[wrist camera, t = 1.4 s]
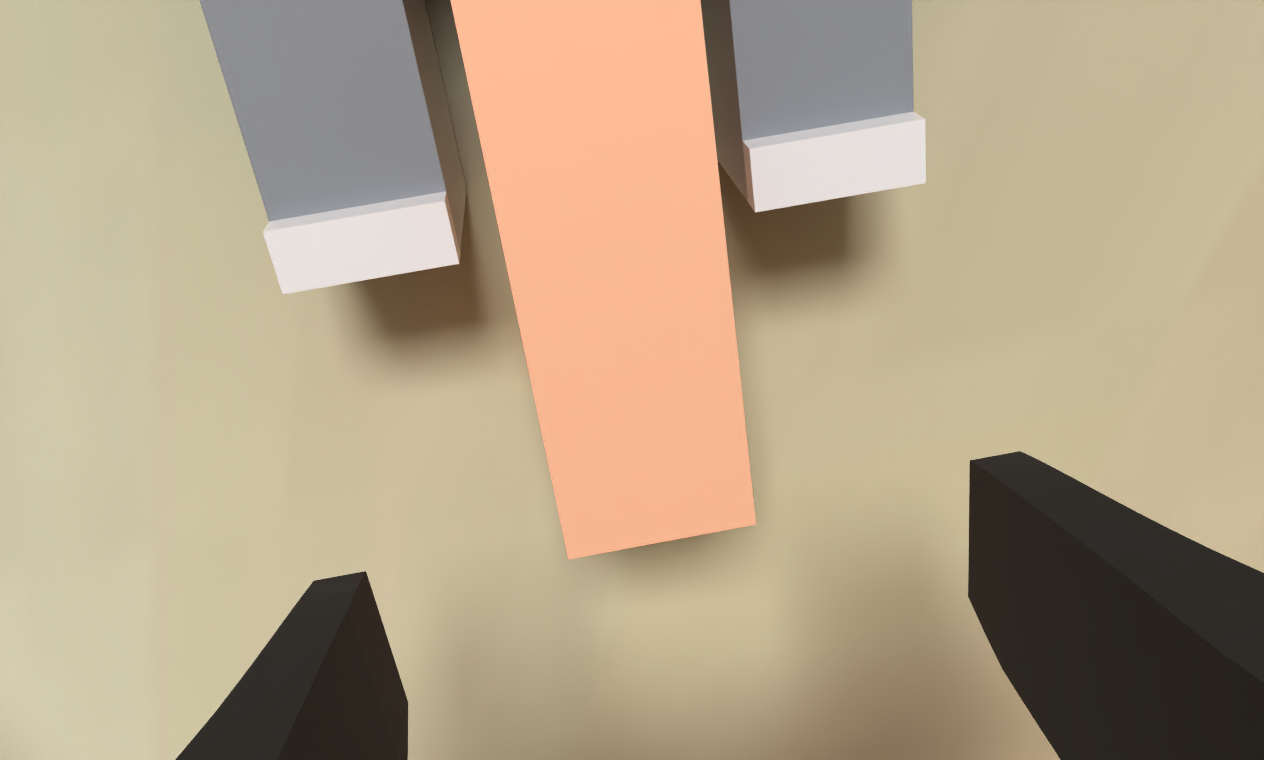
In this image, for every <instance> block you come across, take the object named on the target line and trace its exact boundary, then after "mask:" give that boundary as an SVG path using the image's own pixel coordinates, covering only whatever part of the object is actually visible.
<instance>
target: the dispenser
mask: <svg viewBox="0 0 1264 760" xmlns="http://www.w3.org/2000/svg"><path fill="white" fill-rule="evenodd" d="M700 1H701V10H702V20H703V29H704V39H705V48H706V58H707V67H708V76H709V86H710V95H711V105H712V114H713V124H714V133H715V142H716V152H717V160H718V161H719V163H720V164H721V166H722V167H723V168H724V170H725V171H726V173H727V174H728V175H729V177H730V178H731V180H732V181H733V182H734V184H735V185H736V187H737V188H738V189H739V191H740V192H741V193H742V195H743V196H744V198H745V199H746V200H747V202H748V203H749V205H750V206H751V207H752V209H753V210H754V212H761V211H767V210H773V209H778V208H784V207H790V206H796V205H801V204H807V203H813V202H819V201H825V200H830V199H836V198H842V197H848V196H853V195H859V194H865V193H871V192H877V191H882V190H888V189H894V188H900V187H905V186H911V185H917V184H923V183H926V146H925V118H923V117H921V116H920V115H918V114H917V113H915V112H913V48H912V0H700ZM200 3H201V6H202V9H203V13H204V16H205V19H206V22H207V25H208V28H209V32H210V35H211V38H212V41H213V44H214V47H215V51H216V54H217V57H218V60H219V63H220V66H221V70H222V73H223V76H224V79H225V82H226V86H227V89H228V92H229V95H230V98H231V101H232V105H233V108H234V111H235V114H236V117H237V120H238V124H239V127H240V130H241V133H242V136H243V139H244V143H245V146H246V149H247V152H248V155H249V158H250V162H251V165H252V168H253V171H254V174H255V178H256V181H257V184H258V187H259V190H260V193H261V197H262V200H263V203H264V206H265V209H266V212H267V216H268V219H269V223H268V224H267V226H266V228H265V229H264V231H263V235H264V238H265V241H266V244H267V247H268V250H269V253H270V256H271V260H272V263H273V266H274V269H275V272H276V275H277V278H278V281H279V285H280V288H281V291H282V294H288V293H293V292H299V291H305V290H311V289H316V288H322V287H328V286H334V285H340V284H345V283H351V282H357V281H363V280H368V279H374V278H380V277H386V276H392V275H397V274H403V273H409V272H415V271H420V270H426V269H432V268H438V267H443V266H449V265H455V264H459V262H460V251H461V241H462V230H463V220H464V210H465V199H466V185H465V180H464V176H463V171H462V167H461V162H460V157H459V153H458V148H457V144H456V139H455V135H454V130H453V126H452V121H451V117H450V112H449V108H448V103H447V99H446V94H445V89H444V85H443V80H442V76H441V71H440V67H439V62H438V58H437V53H436V49H435V44H434V40H433V35H432V30H431V26H430V21H429V17H428V12H427V8H426V3H425V0H200Z"/></svg>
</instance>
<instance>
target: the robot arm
mask: <svg viewBox="0 0 1264 760" xmlns="http://www.w3.org/2000/svg"><path fill="white" fill-rule="evenodd" d="M968 597H969V599H970V601H971V603H972V606H973V608H974V610H975V612H976V614H977V617H978V619H979V621H980V623H981V625H982V628H983V630H984V632H985V634H986V636H987V638H988V640H989V642H990V645H991V647H992V649H993V651H994V653H995V655H996V657H997V659H998V661H999V663H1000V665H1001V667H1002V669H1003V671H1004V672H1005V674H1006V675H1007V677H1008V679H1009V680H1010V682H1011V683H1012V685H1013V687H1014V688H1015V690H1016V691H1017V693H1018V694H1019V696H1020V697H1021V699H1022V701H1023V702H1024V704H1025V705H1026V707H1027V708H1028V710H1029V712H1030V713H1031V715H1032V716H1033V718H1034V719H1035V721H1036V722H1037V724H1038V726H1039V727H1040V729H1041V730H1042V732H1043V733H1044V735H1045V736H1046V738H1047V739H1048V741H1049V742H1050V744H1051V745H1052V747H1053V749H1054V750H1055V752H1056V753H1057V755H1058V756H1059V758H1060V759H1061V760H1264V573H1262V572H1260V571H1258V570H1256V569H1253V568H1251V567H1249V566H1247V565H1245V564H1242V563H1240V562H1238V561H1236V560H1233V559H1231V558H1229V557H1227V556H1225V555H1222V554H1220V553H1218V552H1216V551H1214V550H1211V549H1209V548H1207V547H1205V546H1203V545H1201V544H1199V543H1197V542H1195V541H1193V540H1191V539H1189V538H1187V537H1185V536H1183V535H1181V534H1179V533H1177V532H1175V531H1173V530H1171V529H1169V528H1167V527H1165V526H1163V525H1161V524H1159V523H1157V522H1155V521H1153V520H1151V519H1149V518H1147V517H1145V516H1143V515H1141V514H1139V513H1137V512H1135V511H1134V510H1132V509H1130V508H1128V507H1126V506H1124V505H1122V504H1120V503H1118V502H1117V501H1115V500H1113V499H1111V498H1109V497H1107V496H1105V495H1103V494H1102V493H1100V492H1098V491H1096V490H1094V489H1092V488H1090V487H1089V486H1087V485H1085V484H1083V483H1081V482H1079V481H1077V480H1076V479H1074V478H1072V477H1070V476H1068V475H1066V474H1064V473H1062V472H1061V471H1059V470H1057V469H1055V468H1053V467H1051V466H1049V465H1047V464H1045V463H1043V462H1041V461H1039V460H1037V459H1035V458H1033V457H1031V456H1029V455H1027V454H1025V453H1023V452H1020V451H1019V452H1014V453H1008V454H1003V455H997V456H992V457H987V458H981V459H976V460H970V495H969V582H968ZM407 757H408V701H407V698H406V695H405V691H404V688H403V685H402V682H401V679H400V676H399V673H398V670H397V667H396V663H395V660H394V657H393V654H392V651H391V648H390V645H389V642H388V639H387V636H386V632H385V629H384V626H383V623H382V620H381V617H380V614H379V611H378V608H377V604H376V601H375V598H374V595H373V592H372V589H371V586H370V583H369V580H368V577H367V573H366V571H365V572H360V573H354V574H349V575H343V576H338V577H332V578H327V579H321V580H316V581H313V583H312V584H311V585H310V587H309V588H308V589H307V590H306V592H305V593H304V594H303V596H302V597H301V598H300V600H299V601H298V602H297V604H296V605H295V606H294V608H293V609H292V610H291V612H290V613H289V615H288V616H287V617H286V619H285V620H284V621H283V623H282V624H281V625H280V627H279V628H278V630H277V631H276V632H275V634H274V635H273V636H272V638H271V639H270V641H269V642H268V643H267V645H266V646H265V647H264V649H263V650H262V651H261V653H260V654H259V656H258V657H257V658H256V660H255V661H254V662H253V664H252V665H251V666H250V668H249V669H248V670H247V672H246V673H245V674H244V676H243V677H242V678H241V679H240V681H239V682H238V683H237V685H236V686H235V687H234V689H233V690H232V691H231V693H230V694H229V695H228V696H227V698H226V699H225V700H224V702H223V703H222V704H221V706H220V707H219V708H218V710H217V711H216V712H215V713H214V715H213V716H212V717H211V718H210V719H209V720H208V722H207V723H206V724H205V725H204V726H203V728H202V729H201V730H200V731H199V732H198V734H197V735H196V736H195V737H194V738H193V740H192V741H191V742H190V743H189V744H188V745H187V747H186V748H185V749H184V750H183V751H182V753H181V754H180V755H179V756H178V757H177V759H176V760H407Z"/></svg>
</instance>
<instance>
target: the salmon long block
mask: <svg viewBox="0 0 1264 760" xmlns="http://www.w3.org/2000/svg"><path fill="white" fill-rule="evenodd" d="M450 1H451V6H452V10H453V15H454V20H455V24H456V29H457V34H458V39H459V43H460V48H461V53H462V58H463V62H464V67H465V72H466V77H467V81H468V86H469V91H470V96H471V100H472V105H473V110H474V115H475V119H476V124H477V129H478V134H479V138H480V143H481V148H482V152H483V157H484V162H485V167H486V171H487V176H488V181H489V186H490V190H491V195H492V200H493V205H494V209H495V214H496V219H497V224H498V228H499V233H500V238H501V243H502V247H503V252H504V257H505V262H506V266H507V271H508V276H509V280H510V285H511V290H512V295H513V299H514V304H515V309H516V314H517V318H518V323H519V328H520V333H521V337H522V342H523V347H524V352H525V356H526V361H527V366H528V371H529V375H530V380H531V385H532V390H533V394H534V399H535V404H536V408H537V413H538V418H539V423H540V427H541V432H542V437H543V442H544V446H545V451H546V456H547V461H548V465H549V470H550V475H551V480H552V484H553V489H554V494H555V499H556V503H557V508H558V513H559V518H560V522H561V527H562V532H563V536H564V541H565V546H566V551H567V555H568V559H574V558H579V557H585V556H590V555H595V554H601V553H606V552H611V551H617V550H622V549H628V548H633V547H638V546H644V545H649V544H654V543H660V542H665V541H671V540H676V539H681V538H687V537H692V536H697V535H703V534H708V533H714V532H719V531H724V530H730V529H735V528H740V527H746V526H751V525H756V519H755V510H754V501H753V491H752V482H751V472H750V463H749V453H748V444H747V435H746V425H745V416H744V406H743V397H742V387H741V378H740V369H739V359H738V350H737V340H736V331H735V322H734V312H733V303H732V293H731V284H730V274H729V265H728V256H727V246H726V237H725V227H724V218H723V208H722V199H721V190H720V180H719V171H718V161H717V152H716V142H715V133H714V124H713V114H712V105H711V95H710V86H709V76H708V67H707V58H706V48H705V39H704V29H703V20H702V10H701V1H700V0H450Z"/></svg>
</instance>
